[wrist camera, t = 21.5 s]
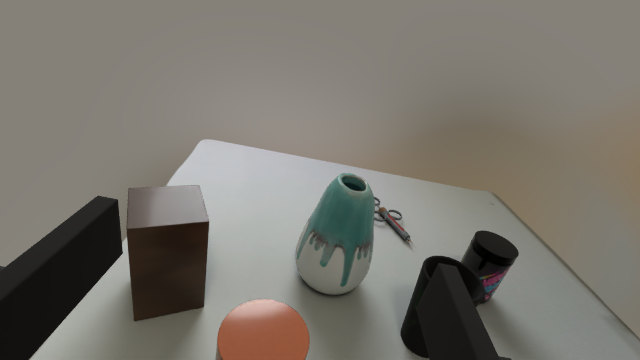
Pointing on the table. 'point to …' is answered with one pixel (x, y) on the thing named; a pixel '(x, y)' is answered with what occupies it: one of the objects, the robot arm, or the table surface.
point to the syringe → (392, 220)
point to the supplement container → (490, 259)
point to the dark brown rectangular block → (167, 249)
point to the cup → (411, 323)
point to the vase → (338, 237)
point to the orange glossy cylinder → (263, 333)
